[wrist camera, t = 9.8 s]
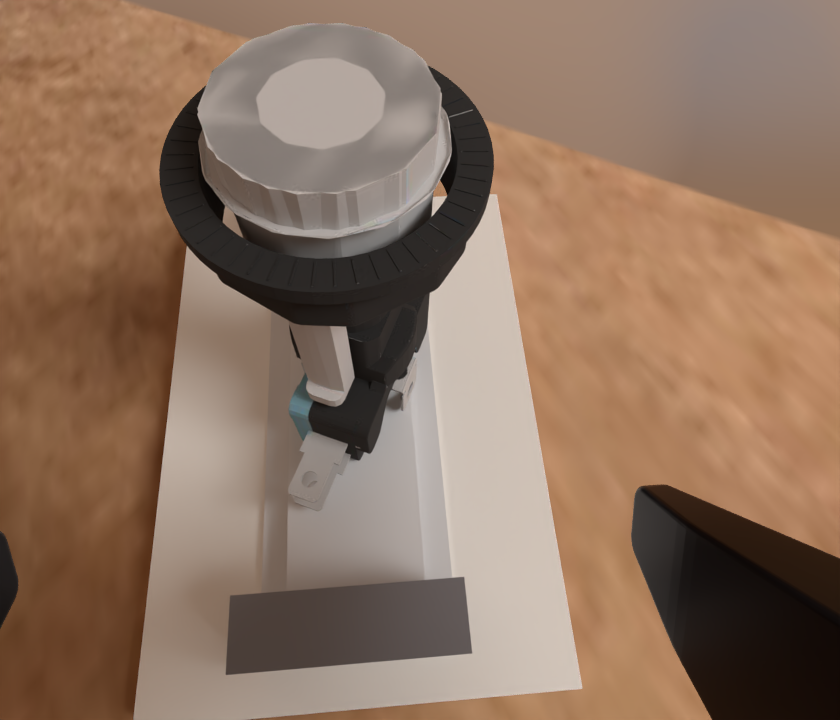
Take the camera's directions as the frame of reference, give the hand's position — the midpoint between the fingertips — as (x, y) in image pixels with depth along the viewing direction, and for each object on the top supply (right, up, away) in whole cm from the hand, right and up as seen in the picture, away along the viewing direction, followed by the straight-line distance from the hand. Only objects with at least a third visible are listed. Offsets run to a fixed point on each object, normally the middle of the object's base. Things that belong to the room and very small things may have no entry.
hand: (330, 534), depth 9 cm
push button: (-1, +1, +9) cm, 9 cm away
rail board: (-1, +1, +11) cm, 11 cm away
